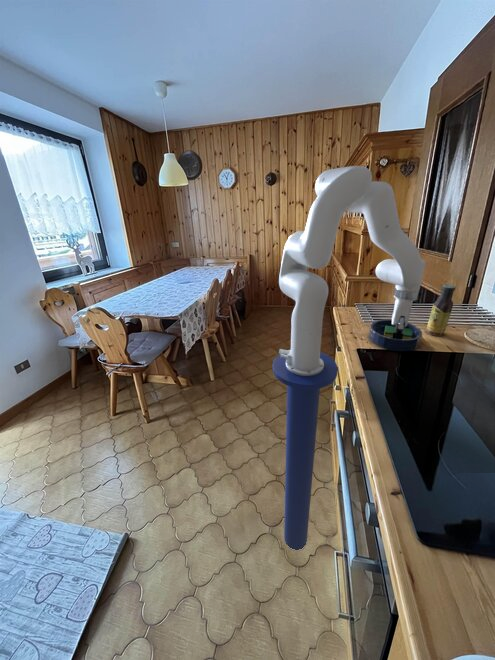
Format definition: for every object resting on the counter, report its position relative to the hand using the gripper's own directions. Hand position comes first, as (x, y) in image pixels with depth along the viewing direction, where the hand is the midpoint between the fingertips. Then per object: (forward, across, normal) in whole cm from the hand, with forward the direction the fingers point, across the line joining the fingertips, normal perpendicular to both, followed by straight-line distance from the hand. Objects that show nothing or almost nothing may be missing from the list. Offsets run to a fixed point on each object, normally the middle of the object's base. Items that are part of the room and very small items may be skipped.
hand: (396, 337), depth 108 cm
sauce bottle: (+2, -12, +14) cm, 19 cm away
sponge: (+1, 0, 0) cm, 1 cm away
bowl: (+1, 0, -1) cm, 2 cm away
